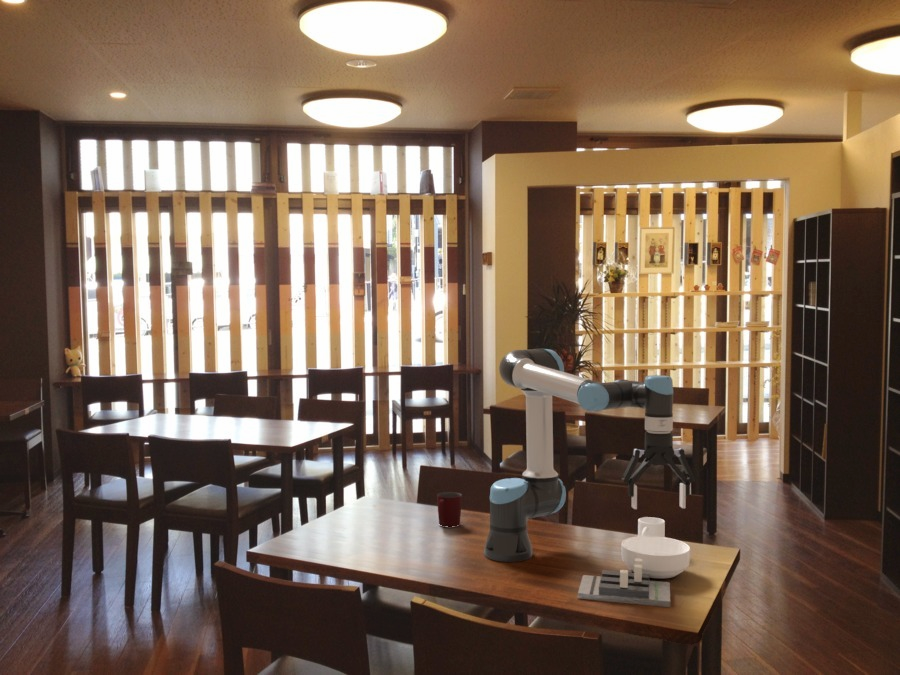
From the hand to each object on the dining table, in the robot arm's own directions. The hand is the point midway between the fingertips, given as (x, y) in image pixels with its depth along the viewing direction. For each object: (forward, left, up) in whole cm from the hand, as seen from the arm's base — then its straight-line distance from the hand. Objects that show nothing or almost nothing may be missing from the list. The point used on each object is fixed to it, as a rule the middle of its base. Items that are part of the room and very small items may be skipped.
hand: (658, 507), depth 222 cm
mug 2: (-3, +32, -23) cm, 40 cm away
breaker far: (-5, 0, -19) cm, 20 cm away
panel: (-9, -6, -23) cm, 25 cm away
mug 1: (-73, +46, -23) cm, 89 cm away
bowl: (-1, +13, -23) cm, 27 cm away
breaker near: (-9, -11, -19) cm, 24 cm away
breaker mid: (-5, -6, -19) cm, 21 cm away
